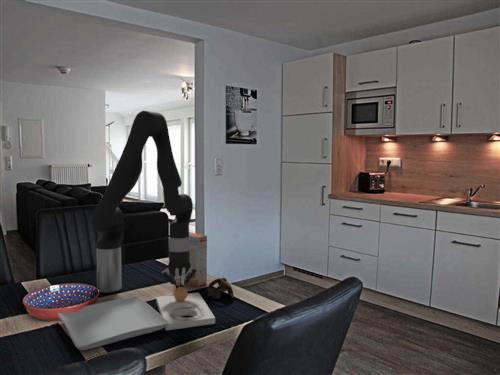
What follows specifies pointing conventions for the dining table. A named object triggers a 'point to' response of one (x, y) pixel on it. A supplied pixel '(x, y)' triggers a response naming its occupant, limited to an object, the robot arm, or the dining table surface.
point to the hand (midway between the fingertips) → (179, 294)
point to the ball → (180, 293)
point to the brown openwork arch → (220, 287)
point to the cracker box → (198, 259)
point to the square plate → (111, 322)
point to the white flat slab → (184, 311)
